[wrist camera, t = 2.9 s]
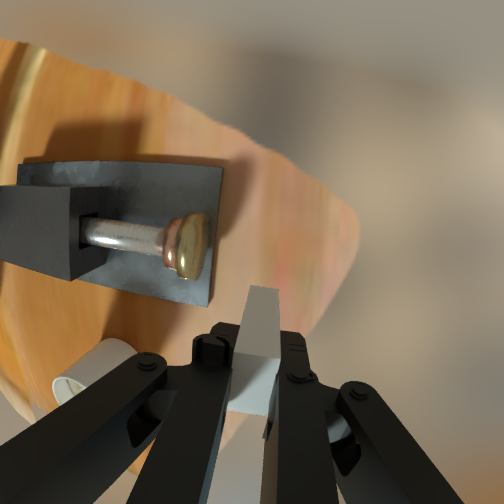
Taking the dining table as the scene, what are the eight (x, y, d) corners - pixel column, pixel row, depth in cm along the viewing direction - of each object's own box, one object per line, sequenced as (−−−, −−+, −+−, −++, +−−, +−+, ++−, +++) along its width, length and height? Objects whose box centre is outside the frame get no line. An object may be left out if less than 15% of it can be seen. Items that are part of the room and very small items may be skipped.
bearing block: (223, 168, 30) (206, 160, 21) (209, 304, 33) (190, 338, 25) (22, 164, 31) (-16, 164, 23) (21, 260, 34) (-14, 273, 26)
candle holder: (90, 325, 36) (43, 366, 24) (147, 341, 35) (107, 393, 24) (99, 375, 38) (63, 419, 26) (152, 392, 37) (122, 445, 26)
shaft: (211, 210, 29) (195, 216, 23) (205, 270, 31) (188, 290, 24) (60, 196, 30) (26, 199, 24) (59, 244, 32) (27, 254, 25)
